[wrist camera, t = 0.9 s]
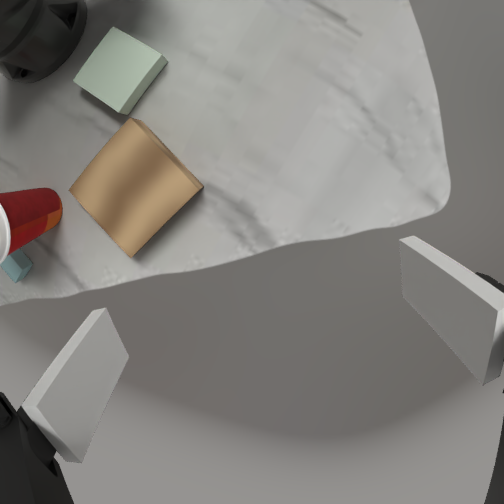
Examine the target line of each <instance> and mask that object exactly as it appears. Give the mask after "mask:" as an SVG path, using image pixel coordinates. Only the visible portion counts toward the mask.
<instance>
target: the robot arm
mask: <svg viewBox="0 0 504 504" xmlns="http://www.w3.org/2000/svg"><path fill="white" fill-rule="evenodd" d="M86 18H87V8H86V3H85V1H84V0H0V72H1V73H2V74H3V75H4V76H5V77H7V78H8V79H11V80H14V81H18V82H23V83H30V82H35V81H38V80H40V79H42V78H44V77H46V76H48V75H49V74H51V73H52V72H54V71H55V70H56V69H57V68H58V67H59V66H61V65H62V64H63V63H64V61H65V60H66V59H67V58H68V57H69V56H70V54H71V53H72V51H73V50H74V48H75V47H76V45H77V44H78V42H79V40H80V38H81V36H82V33H83V31H84V27H85V24H86ZM399 246H400V259H401V275H402V296H403V297H404V298H405V299H406V300H407V301H408V302H409V304H410V305H411V306H412V307H413V308H414V309H415V310H416V311H417V312H418V313H419V314H420V315H421V316H422V317H423V318H424V319H425V320H426V322H427V323H428V324H429V325H430V326H431V327H432V328H433V329H434V330H435V331H436V333H437V334H439V336H440V337H441V338H442V339H443V340H444V341H445V343H446V344H447V345H448V346H449V347H450V348H451V349H452V350H453V351H454V353H455V354H456V355H457V356H458V357H459V358H460V359H461V361H462V362H463V363H464V364H465V365H466V366H467V368H468V369H469V370H470V371H471V372H472V374H473V375H474V376H475V377H476V378H477V379H478V381H479V382H480V383H481V384H482V385H484V384H486V383H488V382H490V381H492V380H494V379H496V378H497V377H499V376H500V374H501V370H502V366H503V362H504V285H502V284H501V283H498V282H497V281H496V280H495V279H493V278H491V277H490V276H488V275H484V274H481V273H478V272H477V273H473V272H472V271H470V270H468V269H467V268H466V267H464V266H462V265H461V264H459V263H458V262H456V261H455V260H453V259H451V258H450V257H448V256H447V255H445V254H443V253H442V252H440V251H438V250H437V249H435V248H434V247H432V246H430V245H429V244H427V243H425V242H424V241H422V240H420V239H419V238H417V237H415V236H411V237H407V238H403V239H399ZM128 359H129V355H128V354H127V352H126V350H125V347H124V346H123V344H122V341H121V339H120V337H119V335H118V333H117V331H116V329H115V326H114V324H113V322H112V320H111V318H110V315H109V313H108V311H107V308H102V309H98V310H93V311H92V312H91V313H90V315H89V316H88V317H87V318H86V320H85V321H84V322H83V323H82V325H81V326H80V327H79V328H78V330H77V331H76V332H75V333H74V335H73V336H72V337H71V338H70V340H69V341H68V342H67V344H66V345H65V346H64V347H63V349H62V350H61V352H60V353H59V354H58V355H57V357H56V358H55V359H54V361H53V362H52V363H51V365H50V366H49V367H48V369H47V370H46V371H45V373H44V374H43V375H42V377H41V378H40V380H39V381H38V382H37V384H36V385H35V386H34V388H33V389H32V391H31V392H30V393H29V395H28V396H27V397H26V399H25V400H24V402H23V403H22V405H21V406H20V408H19V409H18V411H17V412H16V410H15V409H14V408H13V406H12V405H11V403H10V402H9V401H8V399H7V398H6V396H5V395H4V393H2V392H0V504H74V502H73V500H72V497H71V495H70V492H69V490H68V488H67V485H66V482H65V480H64V477H63V474H62V471H61V469H60V466H59V464H58V462H57V461H56V460H55V458H54V455H55V453H56V451H57V452H58V453H59V454H60V455H61V456H62V457H63V459H64V460H65V461H67V462H76V463H82V462H83V459H84V456H85V454H86V452H87V449H88V447H89V445H90V442H91V440H92V437H93V435H94V433H95V430H96V428H97V426H98V424H99V421H100V419H101V417H102V415H103V412H104V410H105V408H106V406H107V403H108V401H109V399H110V397H111V395H112V392H113V390H114V388H115V386H116V384H117V382H118V380H119V377H120V375H121V373H122V371H123V369H124V367H125V365H126V363H127V360H128ZM503 393H504V390H503ZM484 504H504V418H503V425H502V431H501V437H500V443H499V448H498V452H497V457H496V462H495V466H494V471H493V474H492V479H491V482H490V486H489V489H488V493H487V496H486V500H485V503H484Z"/></svg>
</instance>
